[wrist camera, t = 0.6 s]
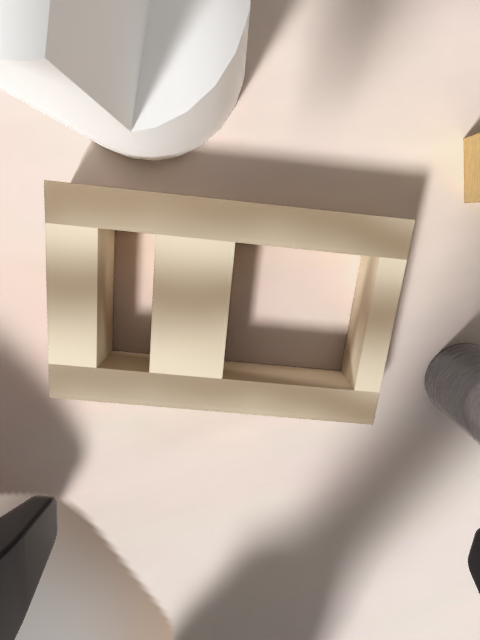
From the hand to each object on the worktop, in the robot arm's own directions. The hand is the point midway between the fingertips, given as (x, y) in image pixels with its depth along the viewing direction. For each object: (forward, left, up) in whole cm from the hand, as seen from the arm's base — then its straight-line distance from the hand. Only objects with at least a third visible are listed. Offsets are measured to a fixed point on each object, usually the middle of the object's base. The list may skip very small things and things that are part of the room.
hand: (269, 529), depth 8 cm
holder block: (+2, +1, -13) cm, 13 cm away
